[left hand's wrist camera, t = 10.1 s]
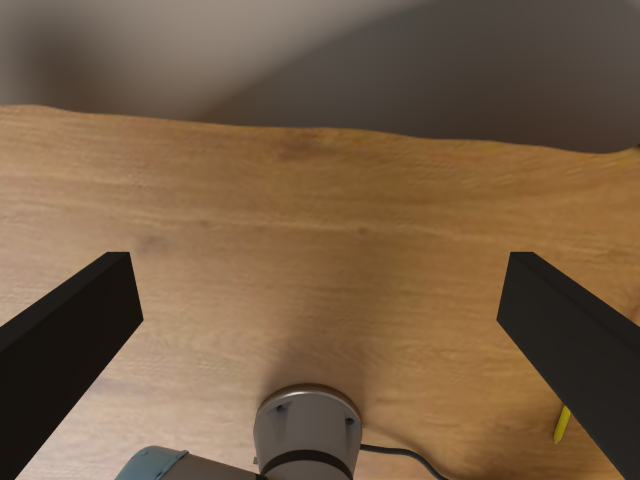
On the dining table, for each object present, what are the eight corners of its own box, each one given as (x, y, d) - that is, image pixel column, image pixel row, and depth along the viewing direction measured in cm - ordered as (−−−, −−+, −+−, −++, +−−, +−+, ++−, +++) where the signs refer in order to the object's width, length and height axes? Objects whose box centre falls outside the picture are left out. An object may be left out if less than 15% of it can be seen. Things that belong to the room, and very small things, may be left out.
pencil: (582, 350, 47) (587, 355, 46) (589, 350, 47) (595, 355, 46) (549, 441, 53) (553, 447, 52) (555, 441, 53) (560, 447, 52)
